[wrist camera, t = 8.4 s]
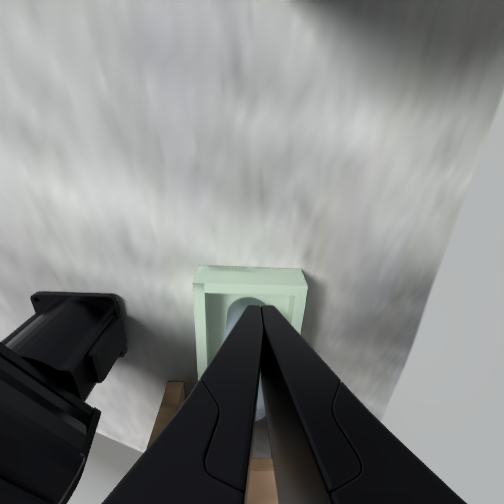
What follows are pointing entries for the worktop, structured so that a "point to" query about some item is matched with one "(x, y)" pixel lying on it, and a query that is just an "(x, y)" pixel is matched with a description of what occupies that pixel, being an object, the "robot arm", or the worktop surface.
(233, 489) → the robot arm
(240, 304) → the grey rounded cylinder
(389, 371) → the worktop surface
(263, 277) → the tray
